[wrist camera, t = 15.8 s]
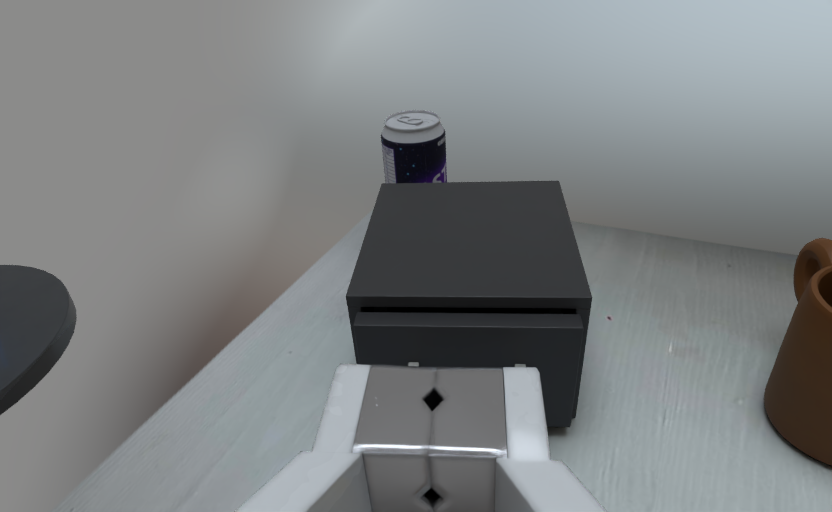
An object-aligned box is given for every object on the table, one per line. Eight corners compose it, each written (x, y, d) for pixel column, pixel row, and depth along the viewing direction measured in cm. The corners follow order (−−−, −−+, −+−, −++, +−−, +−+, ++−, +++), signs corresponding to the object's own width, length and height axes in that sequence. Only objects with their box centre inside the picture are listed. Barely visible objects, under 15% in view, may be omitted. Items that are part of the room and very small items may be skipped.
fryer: (575, 418, 36) (592, 297, 30) (364, 412, 37) (345, 295, 32) (550, 283, 48) (559, 180, 43) (391, 282, 49) (381, 183, 44)
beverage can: (421, 259, 52) (414, 135, 46) (379, 240, 55) (366, 122, 49) (460, 234, 55) (458, 115, 49) (417, 217, 59) (410, 104, 52)
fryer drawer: (581, 491, 30) (598, 388, 26) (355, 481, 32) (336, 382, 27) (547, 293, 45) (554, 207, 41) (394, 292, 46) (385, 209, 42)
